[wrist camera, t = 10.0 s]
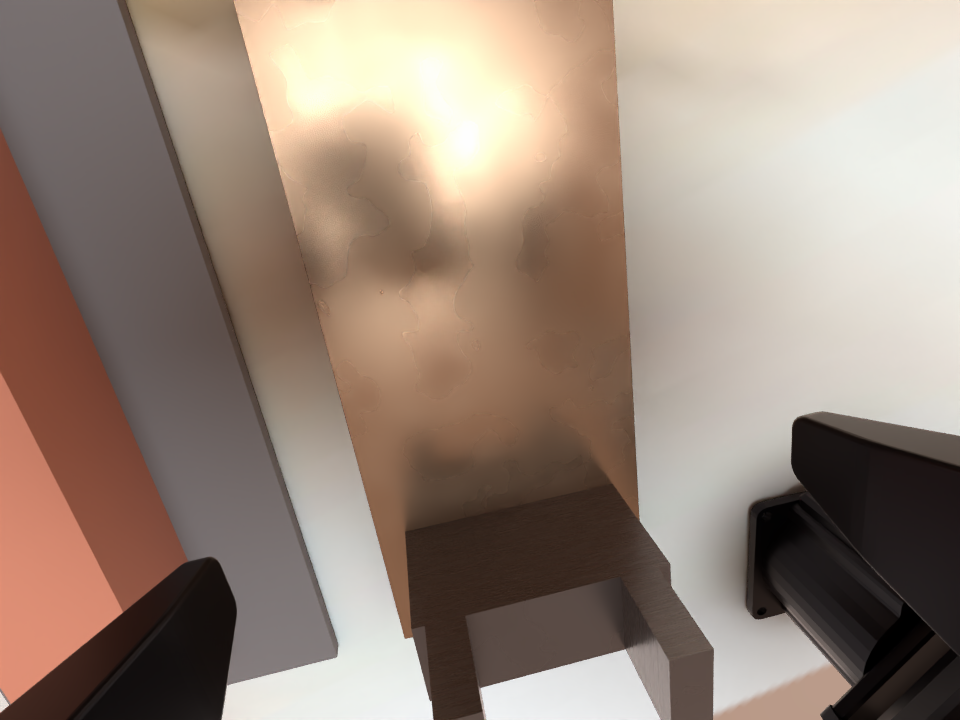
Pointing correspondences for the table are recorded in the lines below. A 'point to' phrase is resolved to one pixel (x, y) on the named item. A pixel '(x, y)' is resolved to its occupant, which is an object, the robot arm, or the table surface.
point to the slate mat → (157, 311)
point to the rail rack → (479, 326)
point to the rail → (62, 466)
